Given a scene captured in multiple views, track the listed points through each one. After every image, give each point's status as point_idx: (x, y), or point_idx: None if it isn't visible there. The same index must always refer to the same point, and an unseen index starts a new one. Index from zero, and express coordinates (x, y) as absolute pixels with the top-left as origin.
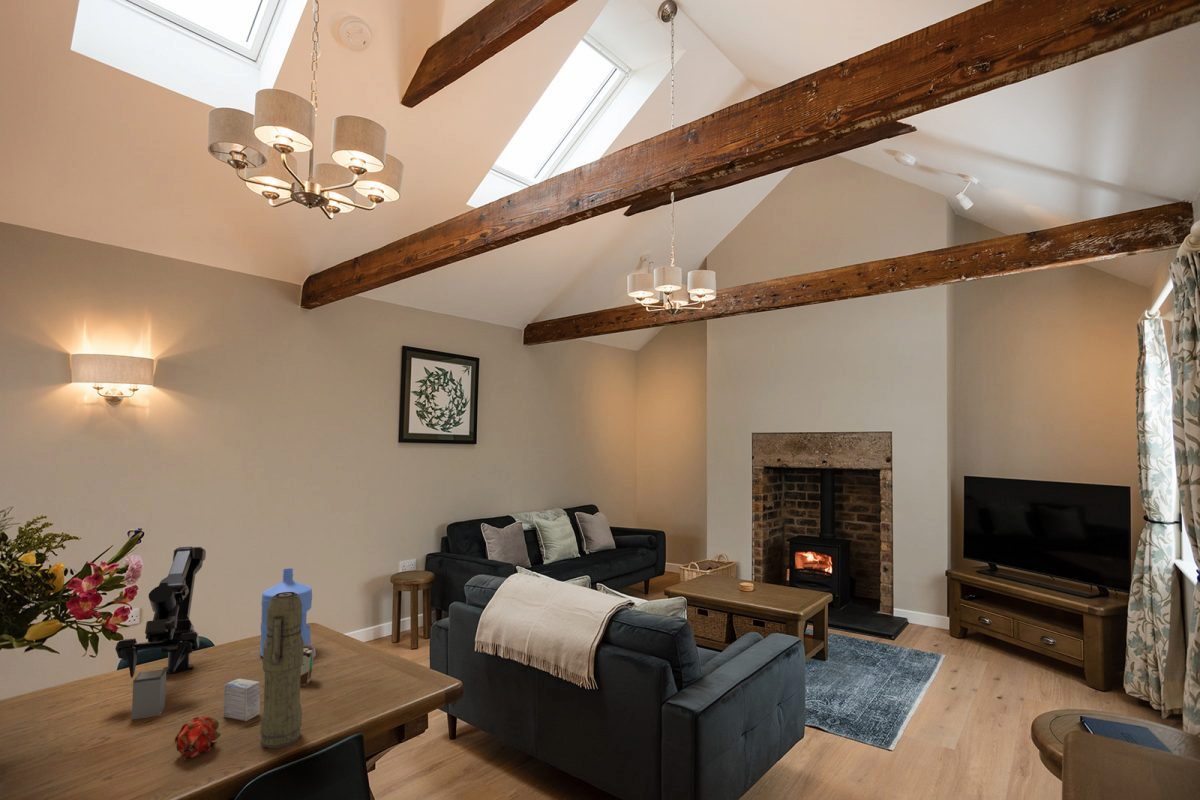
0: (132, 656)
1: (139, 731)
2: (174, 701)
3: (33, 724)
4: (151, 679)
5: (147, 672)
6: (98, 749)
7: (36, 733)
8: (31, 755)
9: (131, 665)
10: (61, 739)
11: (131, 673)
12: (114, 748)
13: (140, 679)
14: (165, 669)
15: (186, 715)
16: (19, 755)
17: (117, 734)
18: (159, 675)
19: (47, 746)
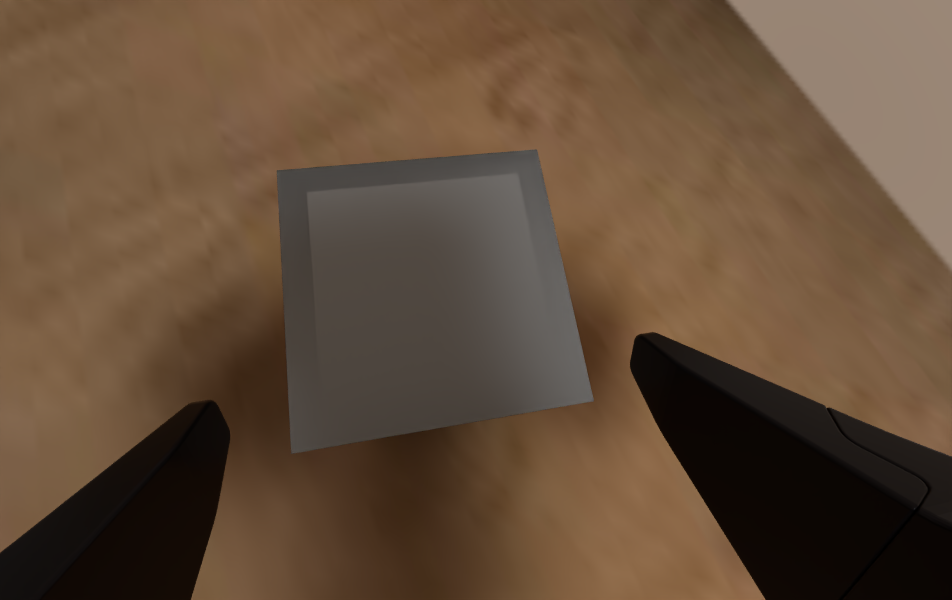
0: (946, 502)
1: (386, 131)
2: (331, 511)
3: (938, 356)
4: (372, 171)
5: (497, 375)
6: (485, 21)
7: (843, 246)
8: (710, 52)
9: (760, 397)
10: (692, 153)
11: (662, 343)
12: (425, 9)
13: (476, 162)
14: (300, 444)
15: (197, 254)
16: (754, 65)
17: (475, 130)
18: (308, 227)
19: (704, 106)
